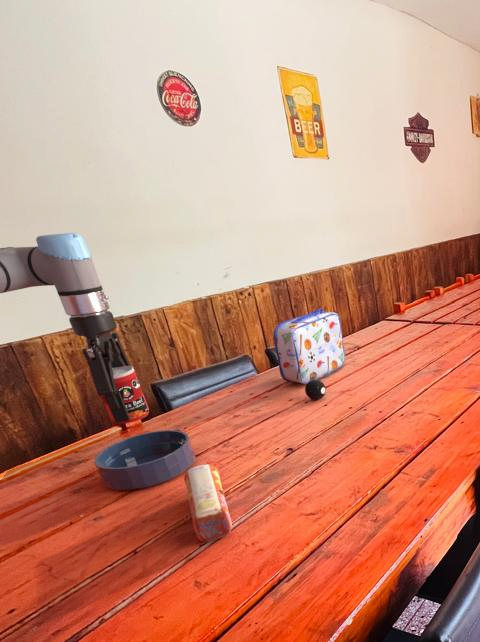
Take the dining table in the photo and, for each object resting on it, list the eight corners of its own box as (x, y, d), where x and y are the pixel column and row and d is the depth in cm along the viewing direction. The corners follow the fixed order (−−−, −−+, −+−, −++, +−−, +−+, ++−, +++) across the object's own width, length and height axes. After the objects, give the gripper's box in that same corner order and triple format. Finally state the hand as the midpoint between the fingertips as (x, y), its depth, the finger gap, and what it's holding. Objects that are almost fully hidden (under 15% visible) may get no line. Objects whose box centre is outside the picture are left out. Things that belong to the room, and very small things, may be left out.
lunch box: (329, 361, 192) (318, 302, 182) (352, 363, 189) (342, 303, 179) (279, 387, 169) (263, 321, 160) (305, 390, 166) (290, 323, 156)
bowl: (83, 489, 116) (73, 466, 113) (149, 449, 133) (141, 428, 130) (155, 495, 112) (145, 471, 109) (213, 453, 129) (206, 431, 126)
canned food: (117, 427, 111) (98, 380, 106) (106, 418, 116) (87, 372, 111) (155, 415, 116) (138, 369, 111) (143, 407, 121) (126, 363, 116)
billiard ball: (315, 394, 162) (311, 376, 159) (331, 396, 160) (327, 378, 157) (303, 401, 157) (299, 383, 154) (319, 403, 155) (315, 384, 152)
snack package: (236, 534, 97) (226, 505, 94) (198, 547, 94) (186, 517, 91) (223, 485, 114) (214, 459, 111) (190, 495, 111) (180, 468, 108)
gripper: (91, 322, 97) (134, 429, 107) (125, 301, 115) (159, 395, 125) (46, 327, 96) (93, 435, 106) (88, 305, 114) (125, 400, 124)
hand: (129, 413), depth 116 cm, fingers closed on canned food, 8 cm apart
